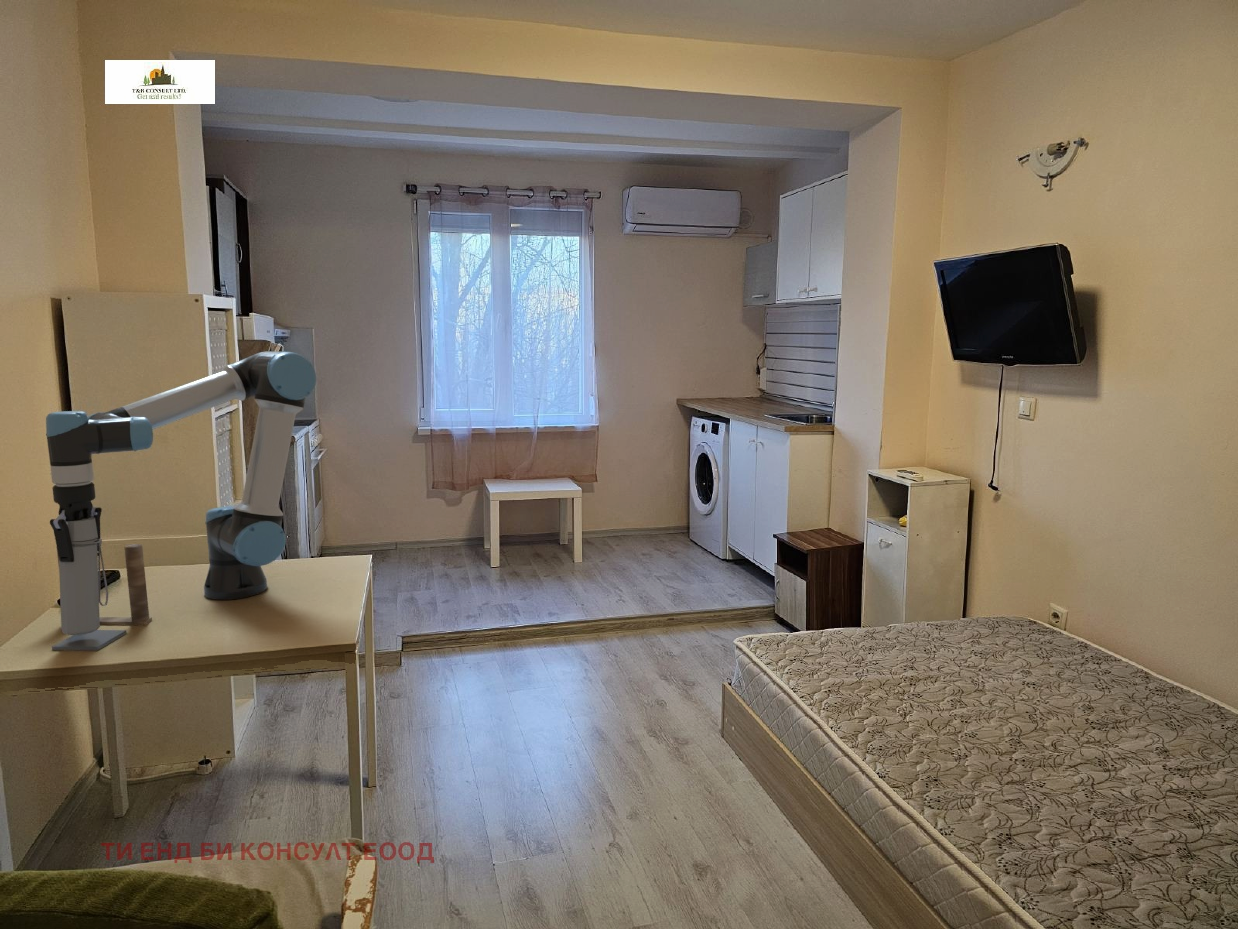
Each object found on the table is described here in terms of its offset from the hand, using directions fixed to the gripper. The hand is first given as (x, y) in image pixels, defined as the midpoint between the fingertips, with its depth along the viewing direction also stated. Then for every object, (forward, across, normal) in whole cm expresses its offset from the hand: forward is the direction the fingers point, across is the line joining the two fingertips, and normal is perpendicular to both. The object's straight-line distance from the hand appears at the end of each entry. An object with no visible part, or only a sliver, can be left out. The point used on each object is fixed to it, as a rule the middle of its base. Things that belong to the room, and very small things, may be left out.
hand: (84, 588), depth 177 cm
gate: (+12, -12, -4) cm, 18 cm away
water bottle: (+10, +1, 0) cm, 10 cm away
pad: (+12, 0, 0) cm, 12 cm away
